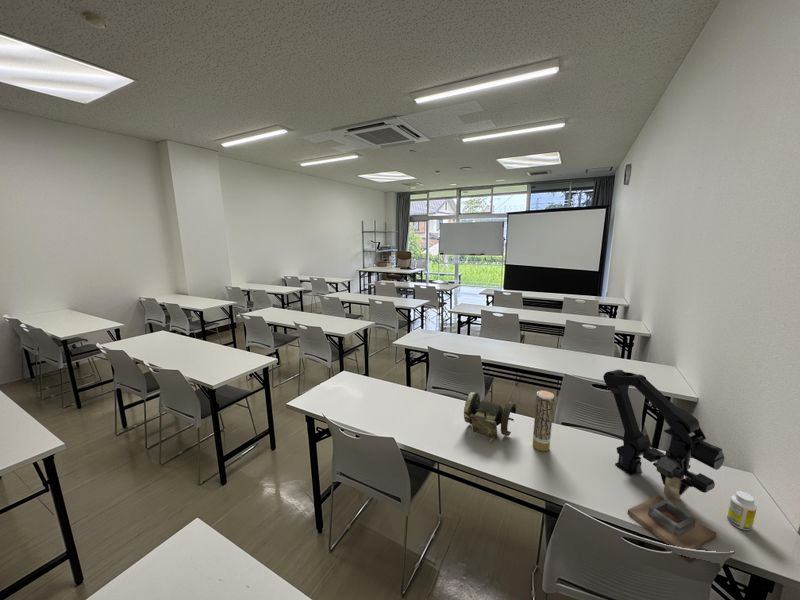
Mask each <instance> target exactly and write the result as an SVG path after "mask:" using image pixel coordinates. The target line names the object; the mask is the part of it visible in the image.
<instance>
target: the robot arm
mask: <svg viewBox="0 0 800 600" xmlns="http://www.w3.org/2000/svg"><path fill="white" fill-rule="evenodd" d="M602 377H603V381H604V384H605V386H606V388H607V389H608V390H609V391H610V392H611V393H612V394H613V397H614V402H615V404H616V407H617V411H618V413H619V417H620V420H621V423H622V427H623V431H624V432H623V437H622V443H623V445H621V446H618V447H616V453H617V454H618V460H617V462H615V464H614V465H615V466H617V467H618V468H619V469H621V470H622V471H624V472H625V473H627V474H629V475H630V476H632V475H633V476H634V475H636V474H638V473H640V472H642V471H643V469H642V464H643V463H642V457H643V459H645V461H649V462H650V463H652V466H654V467H655V468H656V472H657V473H659V474H660V477H661V481H662V484H663V486H665V480H666V477H668V478H670V479H672V478H676V477H677V478H679V479H681V478H682V477H683V476H684V479H683V480H681V482H682V484H681V488H680V491H679V495H681V496H682V495H683V494H685V492H686V491H687V490H688V489H689V488H695V489H696V490H698V491H699V492H702V493H705V494H706V493H708V492H710V491H712V490H713V489H715V486H716V483H715V481H714V480H713V479H712V478H710V477H708V476H707V475H706V474H702V473H701V472H700V473H698V474H697V473H695V472H691V471H689V469H691V464H690V461H691V459H692V458H693V459H694V460H696V461H697V462H700V463H702V464H704V465H706V466H708V467H710V468H712V469H713V470H715V471H718V470H719V469H720V468H721V467H722V466H723V465H724V462H725V459H726V458H725V457H724V456H725V455H724V453H723V448H720V447H719V446H716V445H713V444H711V443H709V442H706V441H705V440H707V437H706V435H705V434H704V433H705V432H704V431H703V430H702V429H701V426H700V422H699V420H698V419H697V418H696V417H695V416H694V415H692V414H691V413H689V411H687V410H686V409H683V408H681V407H679V406H676V404H674V403H673V402H672V401H671V400H670V399H668V398H667V397H666V396H665V395H664V394H663V393H662V392H661V391H660V390H658V388H657V387H655V386H654V385H653V384H652V383H651V382H650V381H649V380H648V379H647V377H646V376H645V375H643V374H641V373H640V374H637V373H634V372H629V371H624V370H623V369H615V370H610V371H605V373H604V375H603V376H602ZM630 387H635V389H636V390H637V391H638V392H639V393H640V394H641V395H643V397H644V398H646V399H647V401H648V402H650V403H651V404H652V405H653V406H654V407H655V408H656V409H657V410H658V412H660V413H661V415H662V416H663V419H664V421H665V423H666V424H667V425H668V426H669V428H666V429H664V430H663V432H664V433H665V434H668V435H670V439H669V446H668V449H666V451H665V453H664V452H662V451H661V450H659V449H657V448H655V447H653V446H652V443H651V442H650V439H649V435H648V434H643V433H642V431H641V430H640V427H639V424H638V422H637V419H636V415H635V411H634V409H633V406H632V402H631V399H630V396H629V393H628V392H629V388H630ZM690 434H694V435H690ZM641 456H642V457H641Z"/></svg>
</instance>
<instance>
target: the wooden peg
mask: <svg viewBox="0 0 800 600" xmlns="http://www.w3.org/2000/svg"><path fill="white" fill-rule="evenodd" d="M683 479H685V476H683V477H682V478H681V479H679V478H677V477H676V478H672V479H670V478H668V477H666V480H665V485H663V496H665V497H666V498H667V499H669V500H671V501H674V502H675V501H676V502H678V501H680V500H681V496H682V495H679V491H680V488H681V484H682V482H681V480H683Z"/></svg>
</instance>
